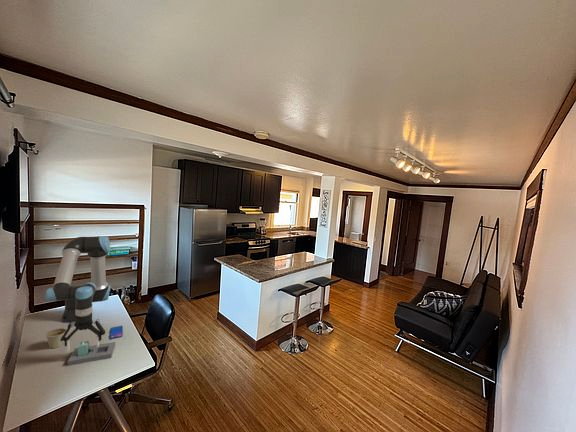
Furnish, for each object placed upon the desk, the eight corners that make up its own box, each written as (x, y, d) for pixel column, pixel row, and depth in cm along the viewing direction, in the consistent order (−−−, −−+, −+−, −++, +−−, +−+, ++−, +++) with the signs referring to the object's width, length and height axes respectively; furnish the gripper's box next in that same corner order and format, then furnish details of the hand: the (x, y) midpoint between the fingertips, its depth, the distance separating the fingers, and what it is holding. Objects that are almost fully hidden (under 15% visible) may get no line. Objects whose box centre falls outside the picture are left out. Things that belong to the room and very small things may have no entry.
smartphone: (122, 325, 176) (122, 336, 164) (122, 326, 177) (122, 337, 164) (110, 327, 172) (109, 338, 160) (110, 328, 172) (109, 340, 160)
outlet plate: (75, 352, 146) (75, 348, 146) (115, 345, 155) (115, 341, 155) (67, 365, 135) (67, 361, 135) (111, 357, 144) (111, 353, 144)
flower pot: (60, 339, 156) (60, 326, 155) (70, 343, 153) (70, 330, 153) (41, 347, 147) (41, 334, 147) (51, 352, 145) (51, 338, 144)
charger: (80, 355, 144) (80, 341, 143) (88, 353, 145) (88, 340, 145) (77, 359, 140) (77, 345, 139) (86, 358, 142) (86, 344, 141)
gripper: (52, 320, 132) (52, 357, 134) (108, 314, 143) (108, 347, 145) (58, 313, 138) (58, 348, 140) (111, 308, 150) (110, 340, 152)
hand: (83, 348), depth 143 cm, fingers open, 13 cm apart
